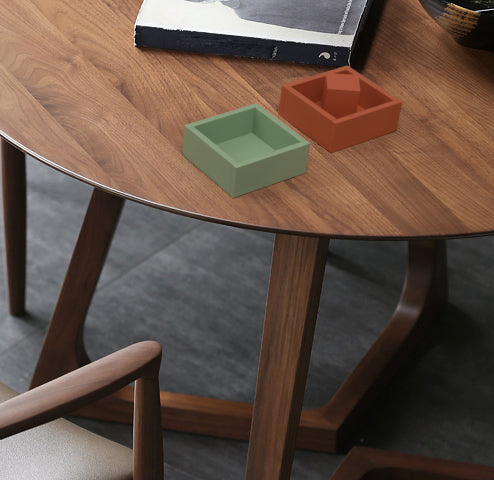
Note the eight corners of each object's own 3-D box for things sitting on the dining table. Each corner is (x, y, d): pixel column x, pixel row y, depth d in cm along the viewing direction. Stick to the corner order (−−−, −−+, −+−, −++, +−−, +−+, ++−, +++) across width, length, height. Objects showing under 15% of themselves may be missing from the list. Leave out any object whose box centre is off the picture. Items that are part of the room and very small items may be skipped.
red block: (351, 110, 137) (358, 74, 134) (353, 126, 135) (360, 90, 131) (320, 108, 138) (326, 72, 134) (321, 124, 135) (327, 88, 131)
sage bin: (305, 173, 128) (310, 143, 125) (233, 198, 124) (236, 167, 121) (253, 132, 134) (256, 102, 131) (182, 154, 130) (184, 124, 127)
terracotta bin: (396, 130, 135) (402, 101, 132) (330, 153, 131) (335, 123, 128) (342, 93, 142) (347, 65, 139) (278, 114, 138) (281, 85, 135)
